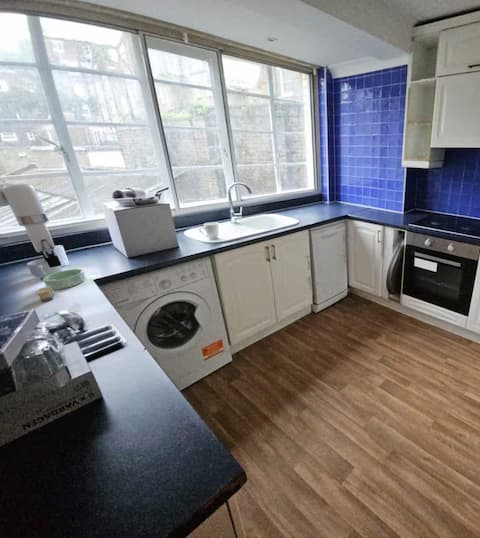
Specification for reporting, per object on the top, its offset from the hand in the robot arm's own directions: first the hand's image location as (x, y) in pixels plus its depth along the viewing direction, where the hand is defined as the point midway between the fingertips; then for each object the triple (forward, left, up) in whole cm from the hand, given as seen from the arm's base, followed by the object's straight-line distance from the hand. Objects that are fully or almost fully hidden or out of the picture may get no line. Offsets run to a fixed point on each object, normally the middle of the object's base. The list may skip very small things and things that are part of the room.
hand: (53, 263), depth 112 cm
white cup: (-8, +58, -17) cm, 61 cm away
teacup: (-11, +41, -17) cm, 46 cm away
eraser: (-8, +10, -16) cm, 21 cm away
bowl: (-3, +24, -16) cm, 29 cm away
